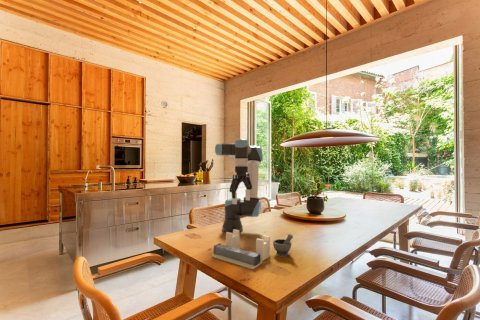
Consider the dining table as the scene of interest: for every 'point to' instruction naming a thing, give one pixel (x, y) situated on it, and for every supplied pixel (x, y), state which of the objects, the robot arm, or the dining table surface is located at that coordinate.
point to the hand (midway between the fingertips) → (241, 202)
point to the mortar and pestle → (282, 246)
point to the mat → (235, 261)
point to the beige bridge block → (233, 238)
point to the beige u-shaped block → (263, 247)
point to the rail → (237, 254)
